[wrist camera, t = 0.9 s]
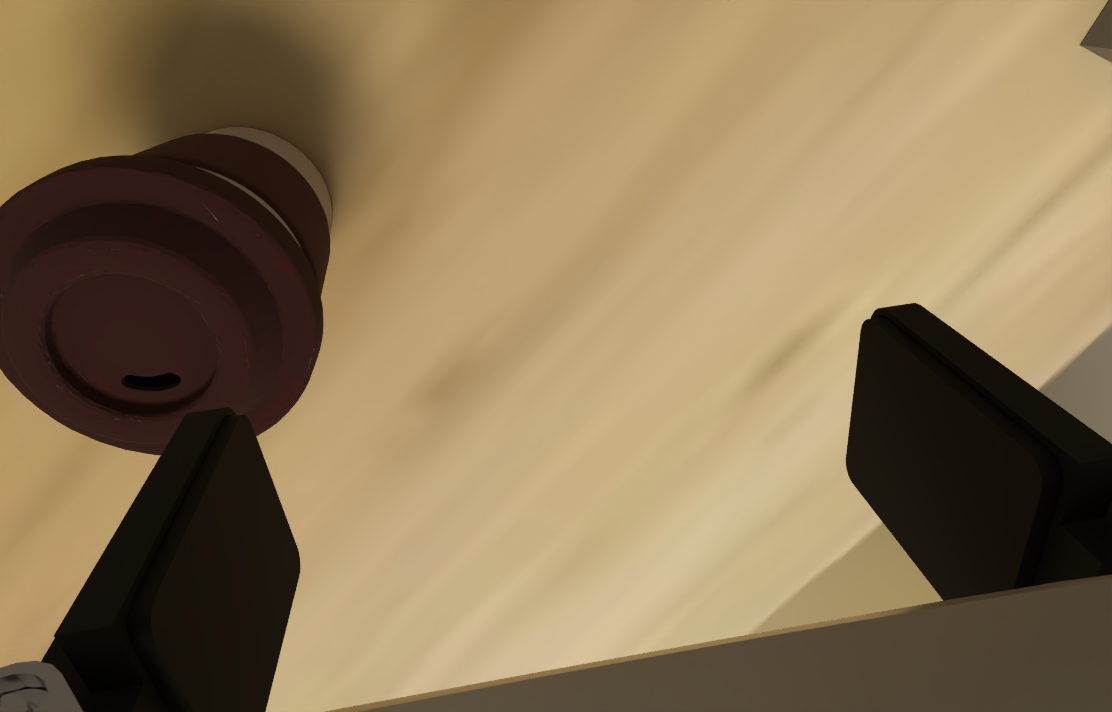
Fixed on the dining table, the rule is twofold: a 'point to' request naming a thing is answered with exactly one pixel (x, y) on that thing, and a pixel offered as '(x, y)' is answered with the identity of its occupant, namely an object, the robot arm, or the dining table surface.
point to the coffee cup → (166, 286)
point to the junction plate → (1101, 34)
